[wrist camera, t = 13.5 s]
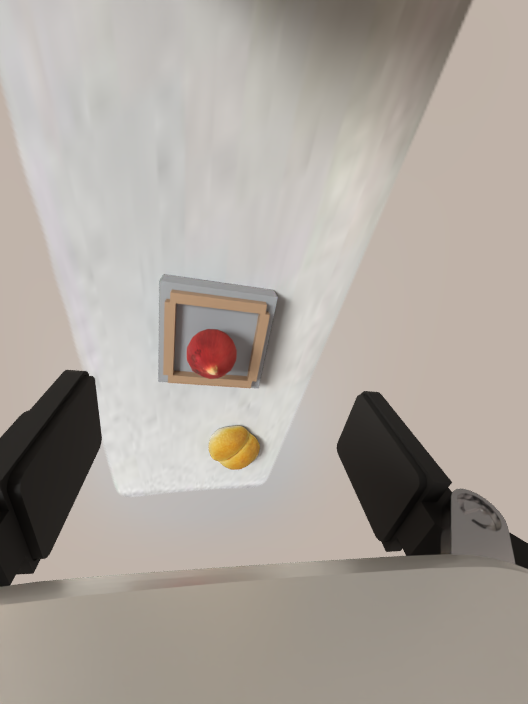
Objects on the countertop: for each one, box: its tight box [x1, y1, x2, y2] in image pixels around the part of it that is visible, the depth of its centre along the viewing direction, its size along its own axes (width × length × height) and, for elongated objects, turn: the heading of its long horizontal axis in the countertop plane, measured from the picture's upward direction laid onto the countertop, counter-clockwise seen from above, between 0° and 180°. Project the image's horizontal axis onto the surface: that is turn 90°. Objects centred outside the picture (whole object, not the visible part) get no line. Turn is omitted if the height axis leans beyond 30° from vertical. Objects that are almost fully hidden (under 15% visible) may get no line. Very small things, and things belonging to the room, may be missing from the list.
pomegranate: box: [187, 329, 237, 379], centre depth 33 cm, size 6×6×8 cm
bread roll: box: [209, 425, 260, 470], centre depth 49 cm, size 8×9×4 cm
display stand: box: [158, 274, 278, 388], centre depth 37 cm, size 14×14×4 cm
